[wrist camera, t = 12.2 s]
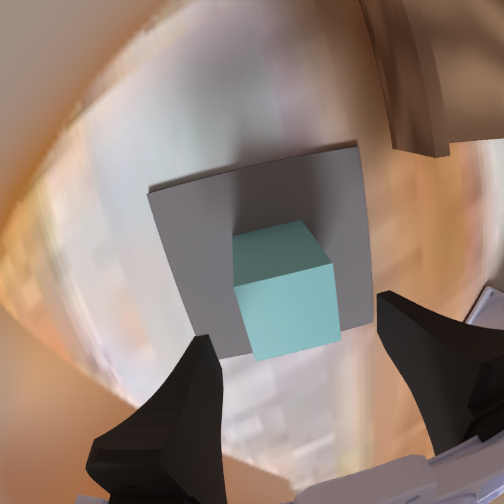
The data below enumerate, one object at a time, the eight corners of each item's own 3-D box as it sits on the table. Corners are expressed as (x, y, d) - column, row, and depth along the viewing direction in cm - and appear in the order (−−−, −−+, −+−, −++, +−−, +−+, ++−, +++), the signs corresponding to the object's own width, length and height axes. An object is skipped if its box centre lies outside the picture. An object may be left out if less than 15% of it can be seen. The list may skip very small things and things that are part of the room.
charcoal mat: (355, 146, 17) (357, 146, 16) (371, 319, 21) (373, 322, 21) (148, 192, 17) (146, 194, 17) (206, 357, 22) (206, 361, 21)
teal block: (312, 281, 19) (340, 340, 14) (248, 296, 20) (255, 361, 14) (301, 219, 18) (332, 262, 12) (232, 236, 18) (233, 287, 12)
